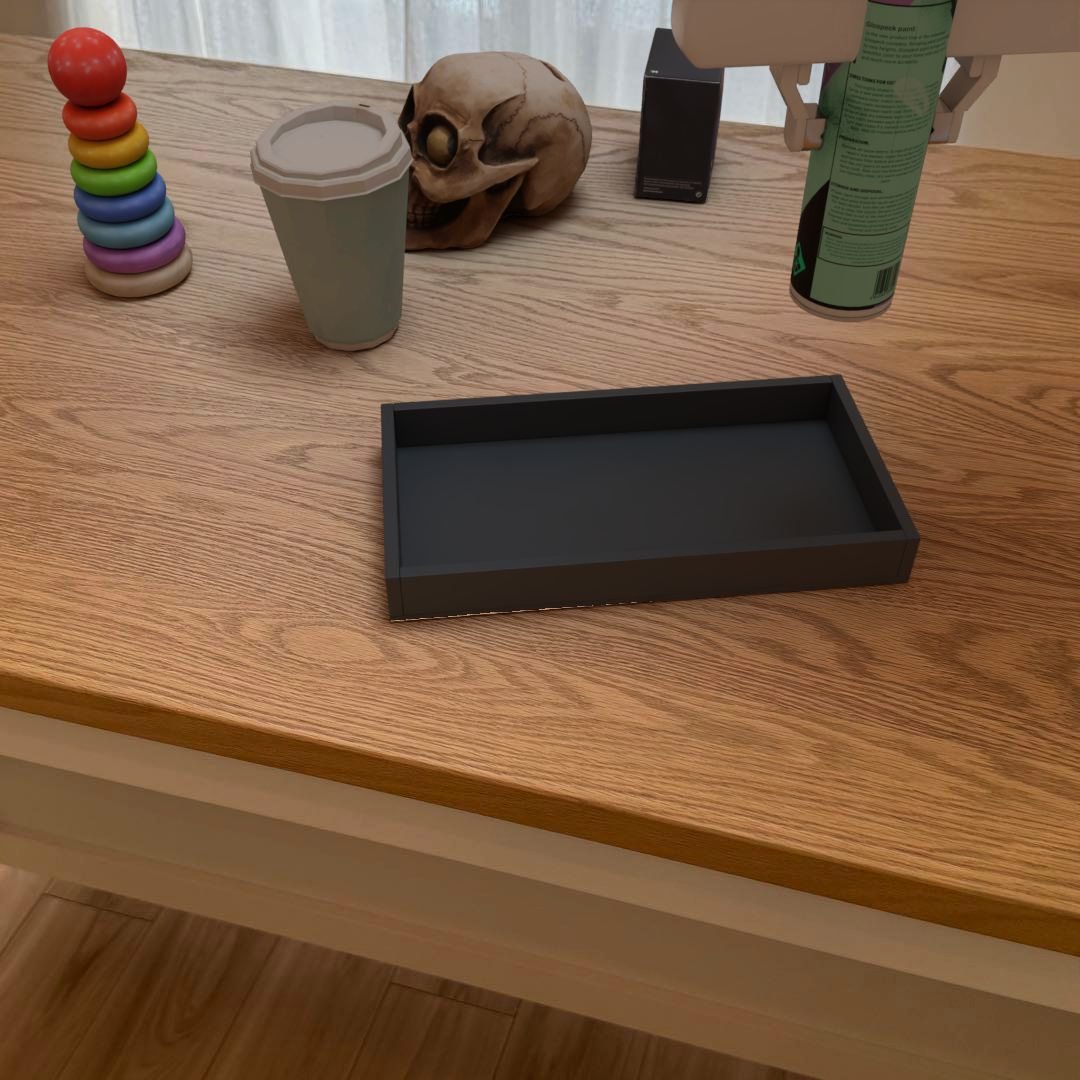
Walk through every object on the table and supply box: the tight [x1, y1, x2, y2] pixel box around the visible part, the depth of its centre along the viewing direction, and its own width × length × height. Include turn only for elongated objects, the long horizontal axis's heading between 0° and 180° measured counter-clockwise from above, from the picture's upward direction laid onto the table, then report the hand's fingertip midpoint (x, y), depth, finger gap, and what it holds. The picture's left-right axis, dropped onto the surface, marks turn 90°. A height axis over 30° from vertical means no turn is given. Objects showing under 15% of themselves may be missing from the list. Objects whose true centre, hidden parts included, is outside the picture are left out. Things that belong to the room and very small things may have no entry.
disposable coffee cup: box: [249, 99, 413, 352], centre depth 85 cm, size 11×11×15 cm
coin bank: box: [396, 50, 593, 251], centre depth 99 cm, size 16×17×13 cm
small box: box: [633, 27, 726, 203], centre depth 104 cm, size 11×6×10 cm, turn 171°
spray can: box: [788, 0, 957, 323], centre depth 60 cm, size 6×6×20 cm
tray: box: [380, 373, 922, 622], centre depth 74 cm, size 30×16×4 cm, turn 96°
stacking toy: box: [46, 26, 194, 298], centre depth 89 cm, size 8×8×19 cm
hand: (869, 143), depth 61 cm, fingers closed on spray can, 5 cm apart
